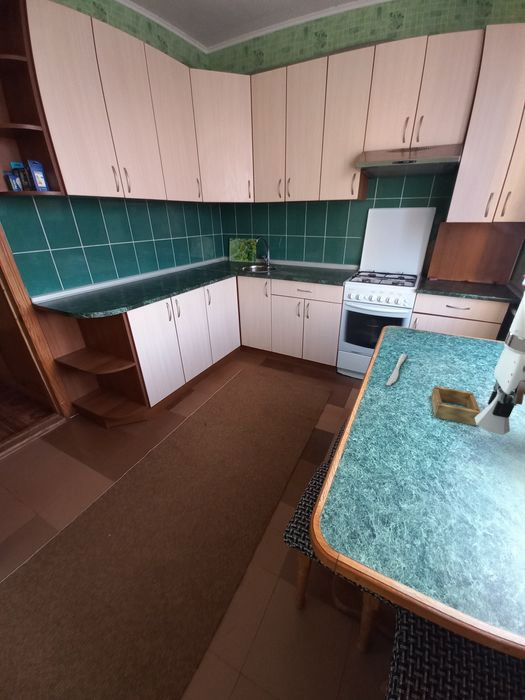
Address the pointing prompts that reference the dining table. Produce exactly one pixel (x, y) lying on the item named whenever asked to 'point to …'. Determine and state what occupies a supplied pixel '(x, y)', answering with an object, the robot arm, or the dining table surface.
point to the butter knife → (396, 370)
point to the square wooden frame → (454, 412)
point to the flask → (493, 418)
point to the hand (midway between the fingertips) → (497, 410)
